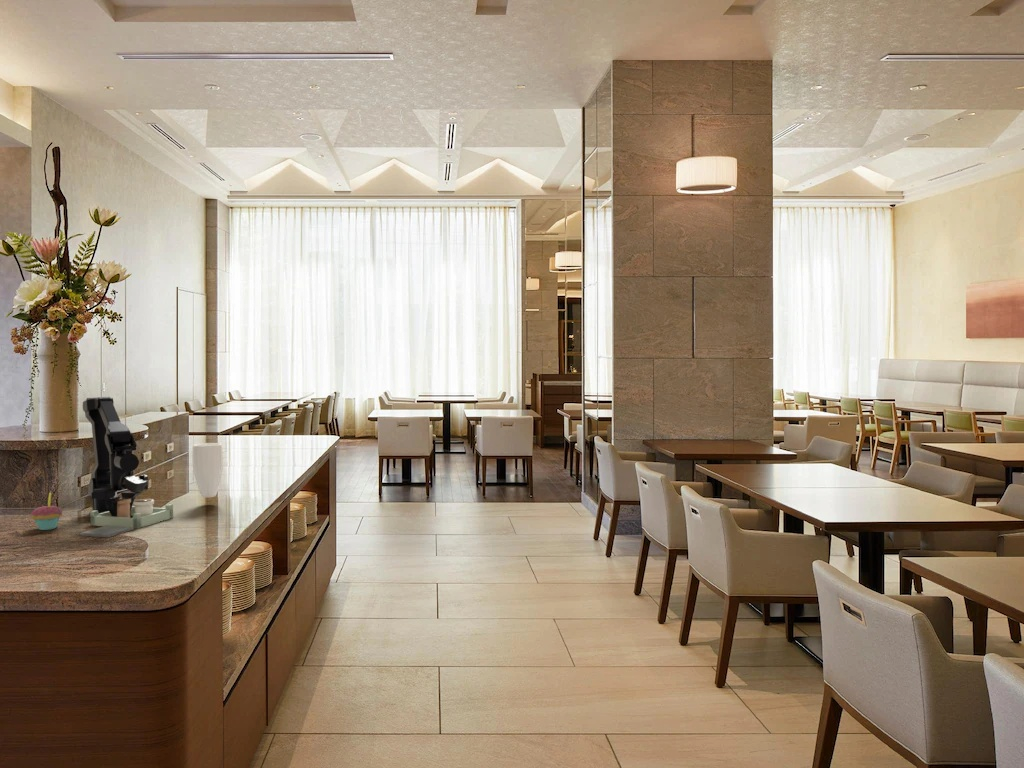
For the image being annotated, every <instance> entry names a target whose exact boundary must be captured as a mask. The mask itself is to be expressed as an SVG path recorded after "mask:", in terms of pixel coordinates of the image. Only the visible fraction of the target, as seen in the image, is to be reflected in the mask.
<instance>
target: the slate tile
mask: <svg viewBox="0 0 1024 768" xmlns="http://www.w3.org/2000/svg"><path fill="white" fill-rule="evenodd" d="M133 530H134V528H133V527H120V526H98V527H97V528H93V529H89V530H86V531H83V532H80V536H82V537H94V538H95V537H96V538H110V537H111V538H112V537H114V536H117V535H120V534H124V533H128V532H131V531H133Z"/></svg>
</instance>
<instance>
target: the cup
mask: <svg viewBox="0 0 1024 768" xmlns="http://www.w3.org/2000/svg"><path fill="white" fill-rule="evenodd" d="M223 453H224V452H223V443H221V442H220V443H219V442H204V443H201V442H200V443H195V444H193V445H192V468H193V471H192V472H193V476H194V480H195V484H196V486H197V489H198V492H199V494H200V496H201V498H214V497H216V496H217V494H218V492H219V487H220V485H221V481H222V475H223V469H224V468H223V467H224V466H223V462H224V461H223V459H224V457H223Z"/></svg>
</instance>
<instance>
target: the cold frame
mask: <svg viewBox="0 0 1024 768" xmlns="http://www.w3.org/2000/svg"><path fill="white" fill-rule="evenodd" d="M89 515H90V526H95V527H96V526H97V527H103V526H120V527H133V529H141V528H144V527H147V526H151V525H155V524H157V523H161V522H163V520H164V521H167V520H170V518H171V519H174V504H170V503H169V504H165V507H153V514H150V515H146V516H143V517H141V513H135V506H134V505H132V508H131V511H130V518H128V517H113V516H112V515H111V513H110V512H109V511H107V512H103V513H98V511H95V510H94V511H93V510H90V511H89ZM131 516H132V517H131ZM160 521H161V522H160Z"/></svg>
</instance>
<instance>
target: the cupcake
mask: <svg viewBox="0 0 1024 768" xmlns="http://www.w3.org/2000/svg"><path fill="white" fill-rule="evenodd" d="M47 498H48V501H47V505H43V506H39V507H36V508H35V509H33V510H32V511H31V513H30V516H29V517H30V518H31V520H34V521H35V524H36V526H37V528H38V530H39V531H40V530H41V531H43V530H44V531H46V530H49V531H50V530H54V529H56V528H57V527H58V523H59V521H60V518H61V516H63V510H62V509H61V508H59V506H56V505H51V501H52V491H51V490H50V491H49V493H48V497H47Z"/></svg>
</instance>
